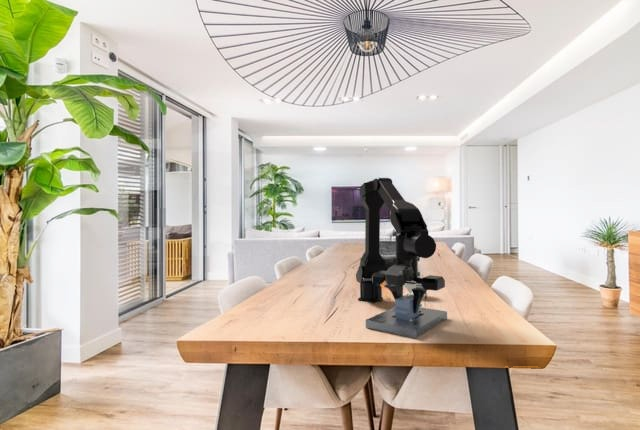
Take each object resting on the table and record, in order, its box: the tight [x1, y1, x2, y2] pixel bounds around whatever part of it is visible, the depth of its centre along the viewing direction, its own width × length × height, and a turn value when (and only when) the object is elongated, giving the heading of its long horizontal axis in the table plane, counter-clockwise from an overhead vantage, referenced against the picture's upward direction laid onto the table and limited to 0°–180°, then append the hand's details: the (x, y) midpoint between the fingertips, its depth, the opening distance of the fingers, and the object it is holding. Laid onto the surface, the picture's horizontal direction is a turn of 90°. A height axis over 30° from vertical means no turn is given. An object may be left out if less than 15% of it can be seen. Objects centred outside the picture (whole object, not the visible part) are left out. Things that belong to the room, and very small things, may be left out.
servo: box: [392, 293, 423, 321], centre depth 99 cm, size 4×10×6 cm, turn 141°
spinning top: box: [403, 268, 422, 294], centre depth 132 cm, size 8×8×12 cm
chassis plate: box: [365, 306, 448, 339], centre depth 99 cm, size 20×14×2 cm
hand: (407, 311), depth 99 cm, fingers closed on servo, 4 cm apart
